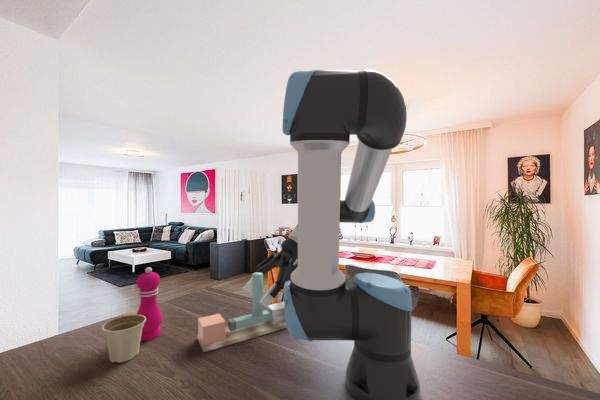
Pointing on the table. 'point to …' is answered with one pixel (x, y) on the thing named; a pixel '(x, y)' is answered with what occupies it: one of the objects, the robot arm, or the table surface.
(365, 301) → the robot arm
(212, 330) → the socket block
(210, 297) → the table surface
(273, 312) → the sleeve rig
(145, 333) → the pepper mill
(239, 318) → the upright post with base
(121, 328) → the flower pot
